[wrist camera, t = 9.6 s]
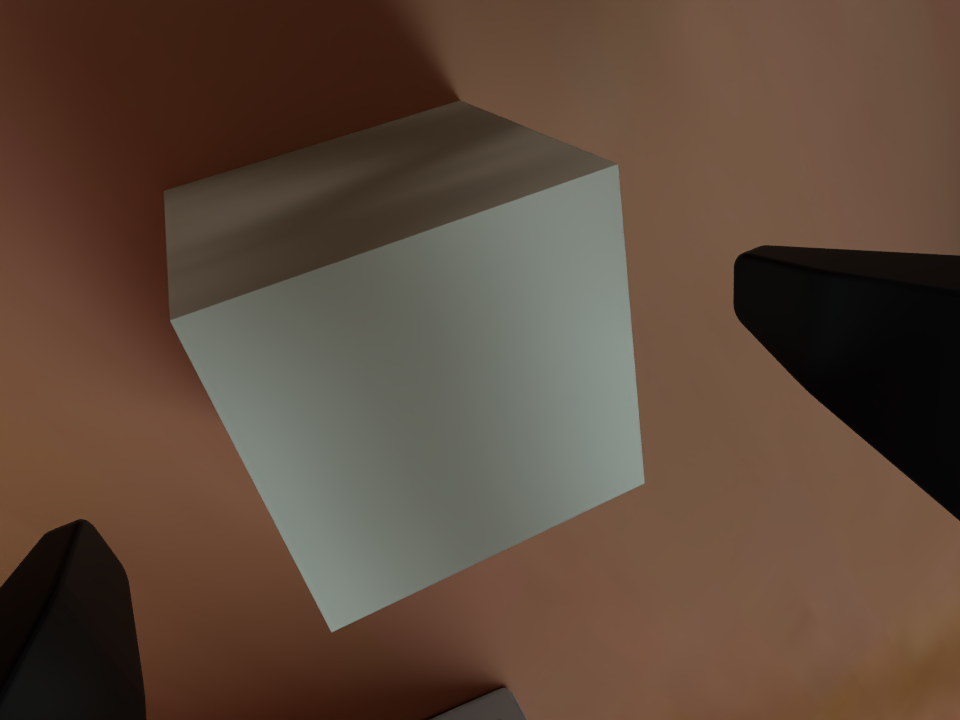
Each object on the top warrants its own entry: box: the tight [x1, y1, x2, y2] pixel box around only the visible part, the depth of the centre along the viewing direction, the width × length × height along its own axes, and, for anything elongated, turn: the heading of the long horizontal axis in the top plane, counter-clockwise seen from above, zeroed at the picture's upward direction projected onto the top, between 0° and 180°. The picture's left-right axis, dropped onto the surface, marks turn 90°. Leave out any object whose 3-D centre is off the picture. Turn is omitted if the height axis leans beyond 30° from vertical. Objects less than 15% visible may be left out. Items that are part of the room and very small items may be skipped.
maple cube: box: [164, 100, 644, 632], centre depth 11 cm, size 5×5×5 cm
